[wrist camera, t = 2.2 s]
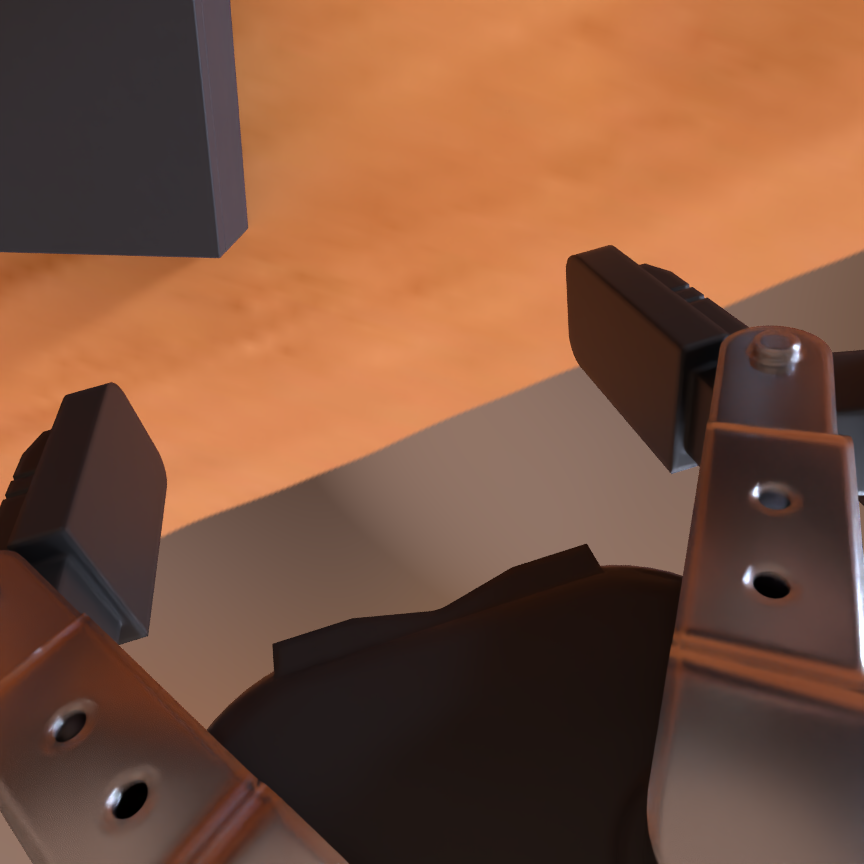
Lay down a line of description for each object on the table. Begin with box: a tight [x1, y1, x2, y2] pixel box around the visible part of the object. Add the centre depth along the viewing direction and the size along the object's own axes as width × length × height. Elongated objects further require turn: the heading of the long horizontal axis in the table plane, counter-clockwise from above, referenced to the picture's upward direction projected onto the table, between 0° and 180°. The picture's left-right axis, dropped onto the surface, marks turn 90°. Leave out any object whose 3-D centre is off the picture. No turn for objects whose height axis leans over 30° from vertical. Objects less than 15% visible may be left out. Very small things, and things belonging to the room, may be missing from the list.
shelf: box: [0, 0, 248, 258], centre depth 26 cm, size 12×14×7 cm
